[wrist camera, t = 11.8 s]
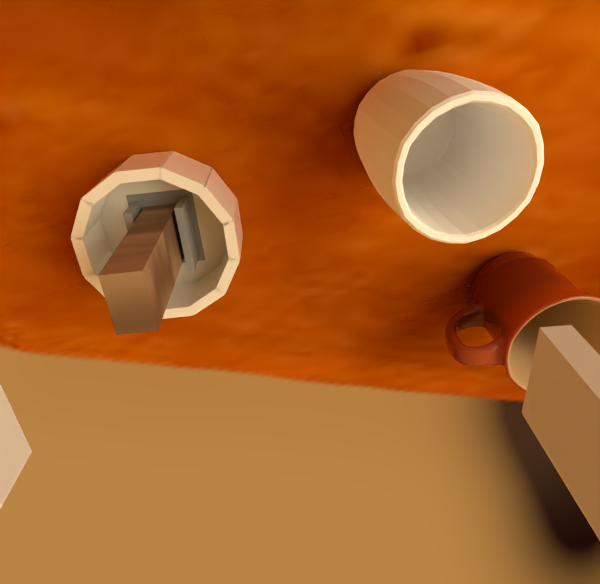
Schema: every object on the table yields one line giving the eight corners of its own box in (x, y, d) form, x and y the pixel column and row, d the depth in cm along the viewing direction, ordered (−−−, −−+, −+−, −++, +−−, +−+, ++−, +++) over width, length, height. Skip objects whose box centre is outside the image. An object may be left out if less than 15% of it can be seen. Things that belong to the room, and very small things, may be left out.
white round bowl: (76, 160, 38) (50, 178, 33) (229, 145, 38) (224, 160, 33) (116, 294, 43) (99, 325, 39) (249, 280, 43) (247, 309, 39)
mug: (557, 230, 43) (635, 285, 34) (551, 315, 47) (620, 385, 38) (419, 257, 43) (459, 318, 34) (425, 339, 47) (463, 413, 38)
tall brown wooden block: (144, 207, 39) (97, 275, 28) (176, 203, 39) (142, 270, 28) (155, 254, 40) (116, 334, 30) (186, 250, 40) (158, 330, 30)
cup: (455, 172, 40) (541, 240, 27) (350, 186, 40) (389, 259, 27) (459, 56, 36) (562, 72, 23) (343, 71, 36) (383, 95, 23)
